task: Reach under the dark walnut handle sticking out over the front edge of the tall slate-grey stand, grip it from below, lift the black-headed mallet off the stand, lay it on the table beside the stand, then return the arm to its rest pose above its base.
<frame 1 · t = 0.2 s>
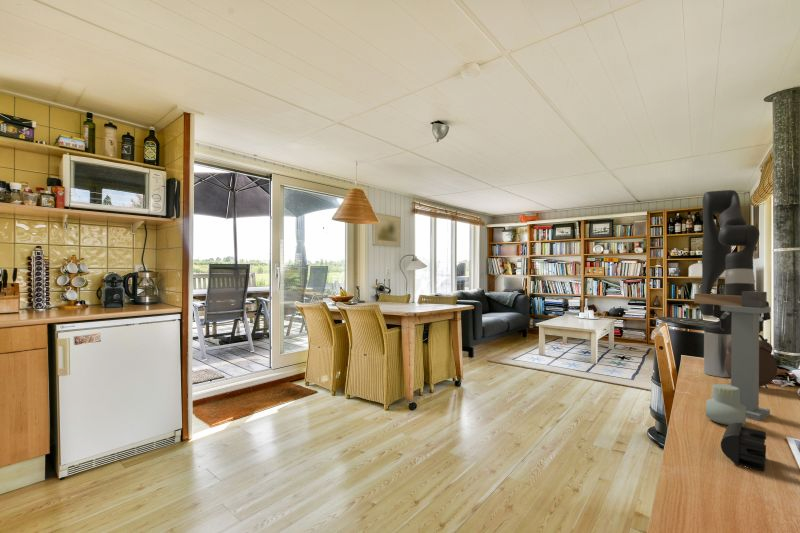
hand: (740, 331, 128), 22 cm above the table, tool pointing down, fingers open, 8 cm apart
mallet: (719, 304, 121), point 32 cm above the table, touching stand
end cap: (743, 460, 87), on the table
air freshener: (725, 423, 108), on the table
stand: (744, 412, 116), on the table
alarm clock: (749, 387, 142), on the table
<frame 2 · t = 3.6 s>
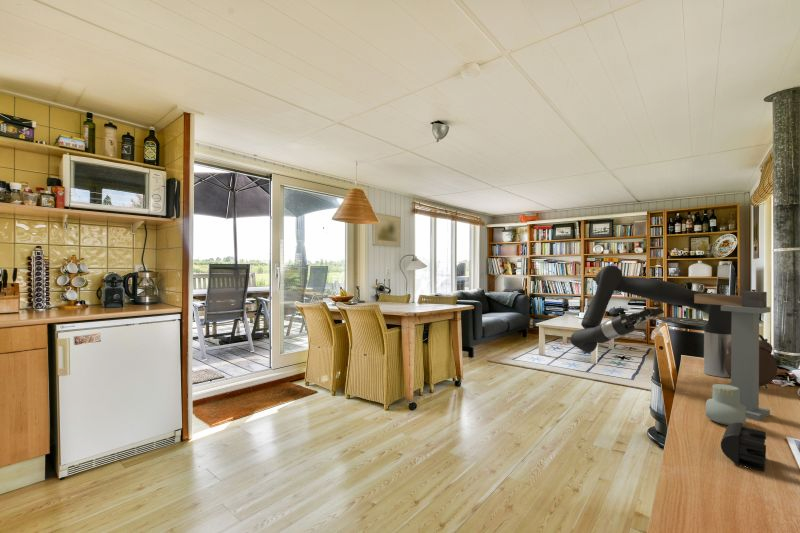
hand: (656, 310, 140), 28 cm above the table, tool pointing upward, fingers open, 8 cm apart
nothing on the table moved.
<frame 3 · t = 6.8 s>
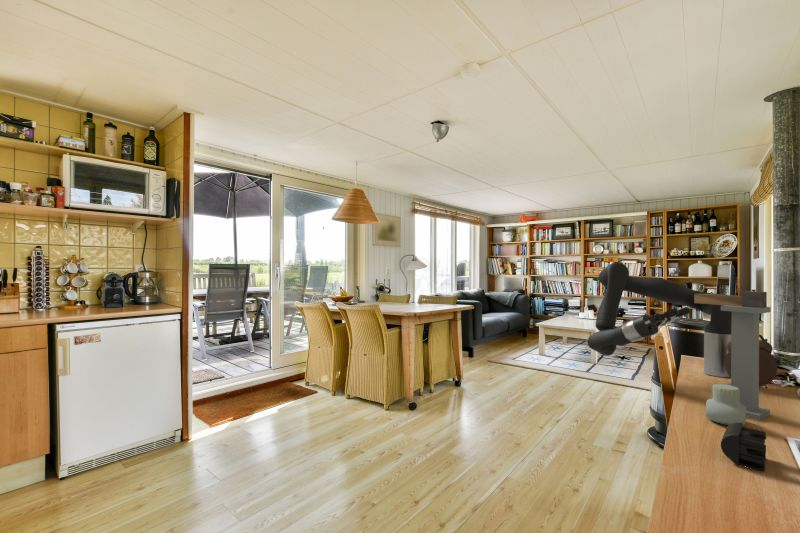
hand: (683, 310, 129), 29 cm above the table, tool pointing upward, fingers open, 8 cm apart
nothing on the table moved.
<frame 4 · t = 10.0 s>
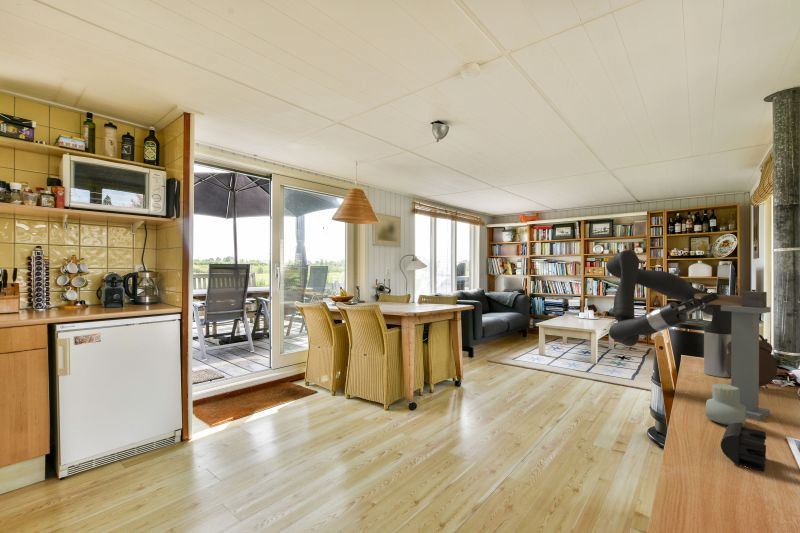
hand: (718, 295, 121), 35 cm above the table, tool pointing upward, fingers closed on mallet, 3 cm apart
mallet: (719, 304, 121), point 32 cm above the table, touching gripper, stand
everything else where it was.
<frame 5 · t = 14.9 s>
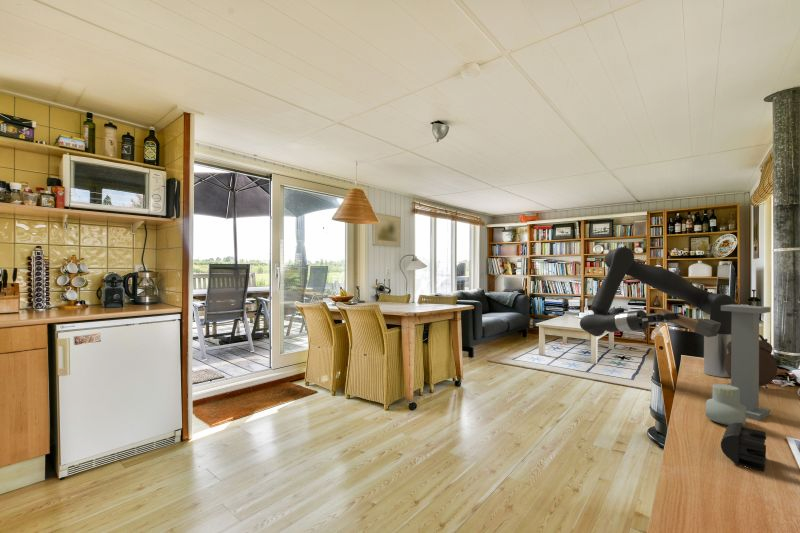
hand: (680, 315, 134), 27 cm above the table, tool horizontal, fingers closed on mallet, 3 cm apart
mallet: (678, 323, 134), point 24 cm above the table, tilted 16°, touching gripper
everything else where it was.
when the fingers open (8 cm above the table, at t = 20.2 s): mallet drops 5 cm, on the table.
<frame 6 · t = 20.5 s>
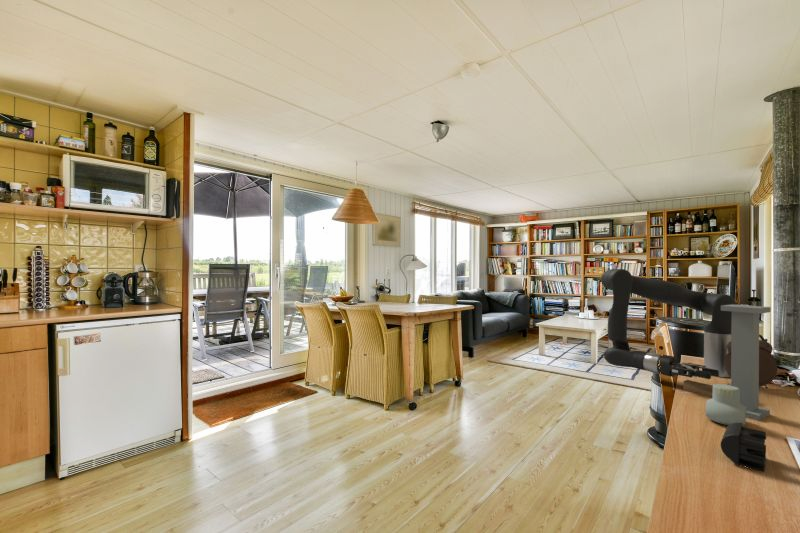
hand: (714, 374, 132), 7 cm above the table, tool horizontal, fingers open, 6 cm apart
mallet: (706, 393, 134), on the table
everything else where it was.
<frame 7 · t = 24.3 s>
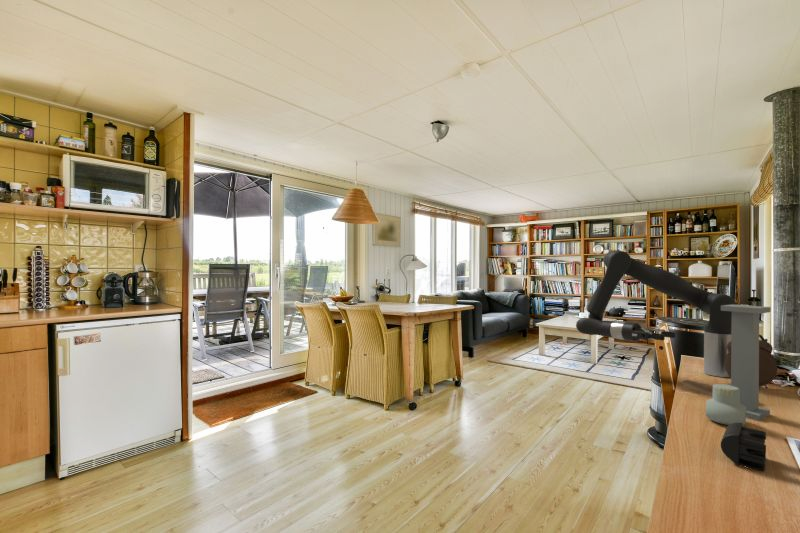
hand: (669, 336, 145), 18 cm above the table, tool horizontal, fingers open, 8 cm apart
nothing on the table moved.
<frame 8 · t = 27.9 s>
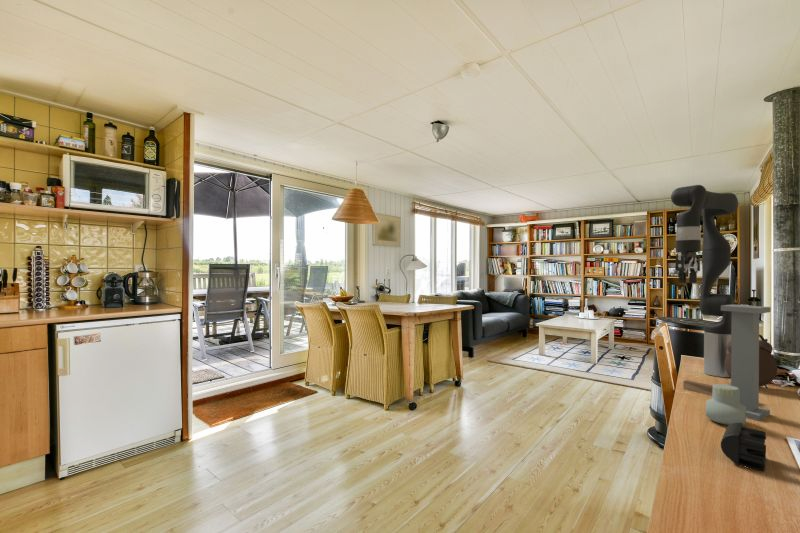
hand: (687, 282, 144), 38 cm above the table, tool pointing down, fingers open, 8 cm apart
nothing on the table moved.
at the end: mallet inside the target area (4.4 cm from its centre), on the table; the gripper is holding nothing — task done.
